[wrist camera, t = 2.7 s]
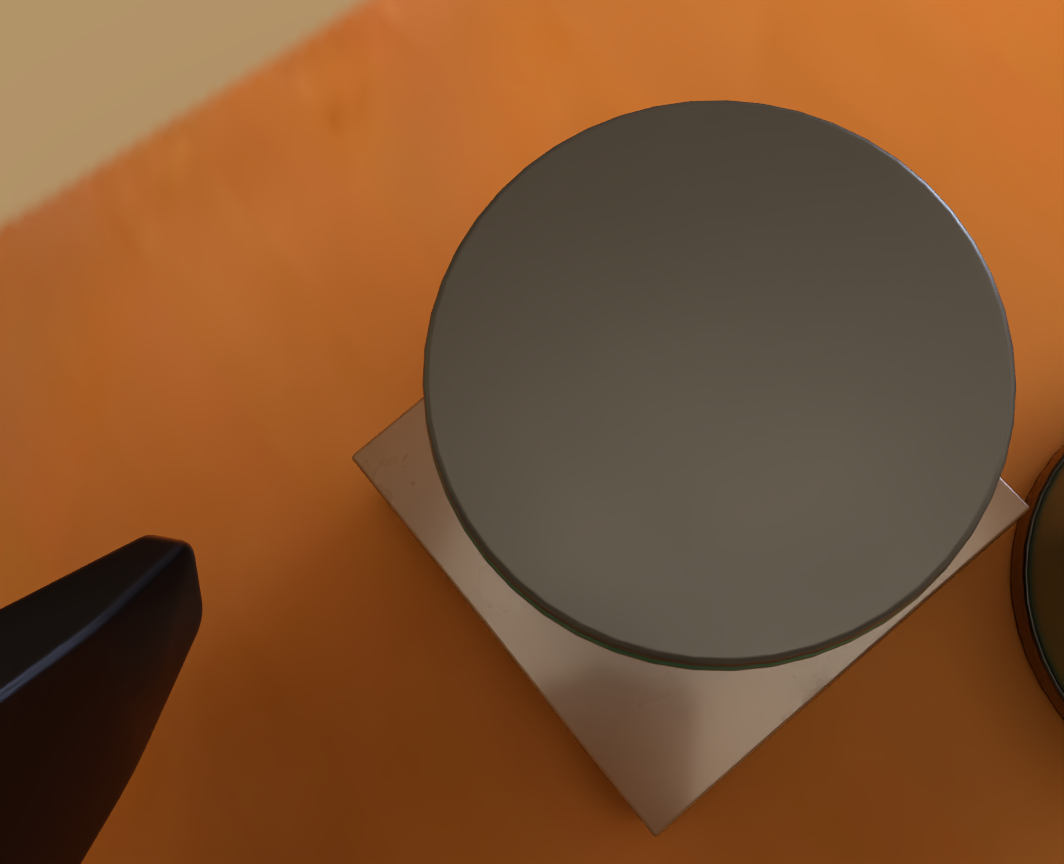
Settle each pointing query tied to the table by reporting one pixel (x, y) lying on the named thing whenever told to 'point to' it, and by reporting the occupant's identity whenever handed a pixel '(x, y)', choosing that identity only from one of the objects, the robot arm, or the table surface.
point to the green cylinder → (1042, 579)
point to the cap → (718, 385)
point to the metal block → (620, 681)
